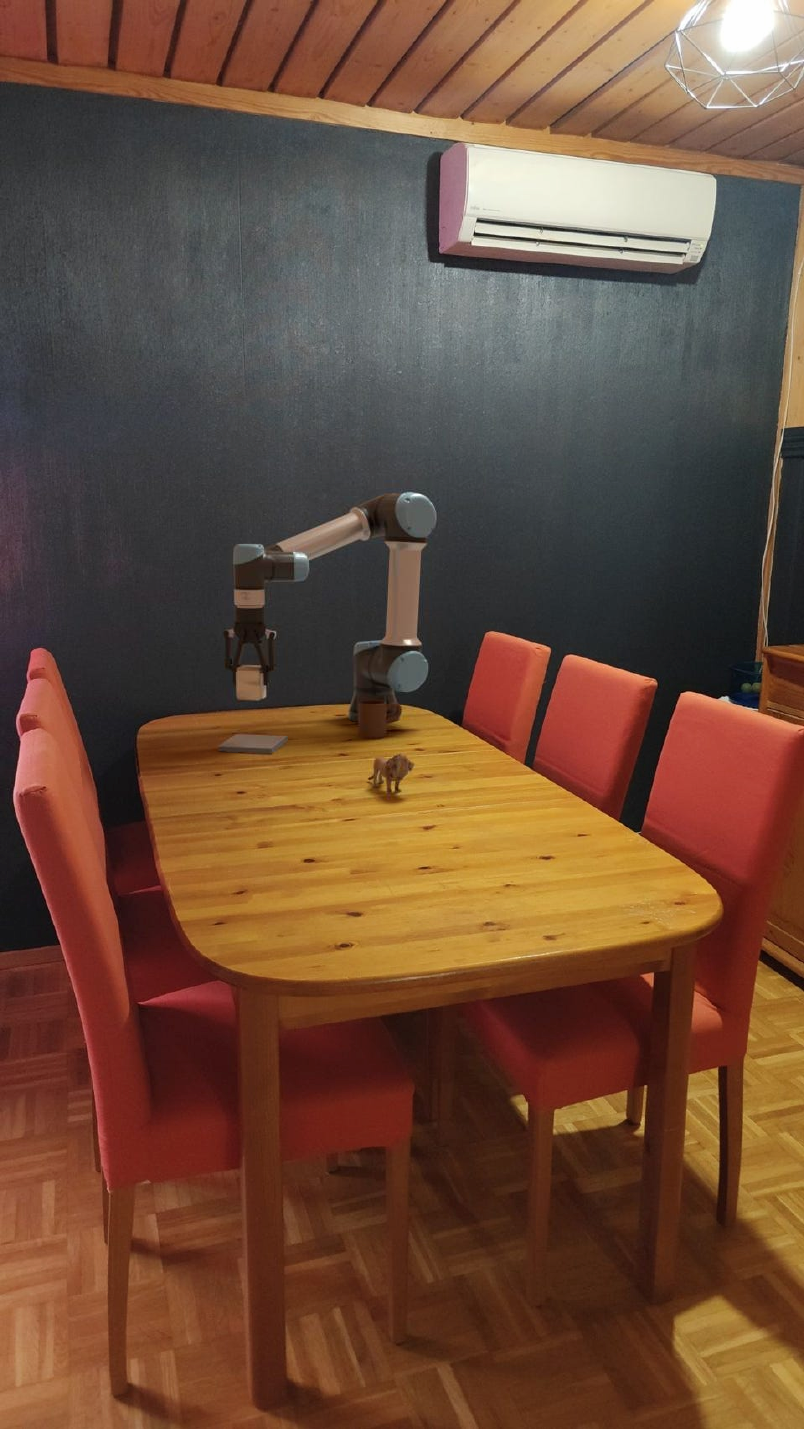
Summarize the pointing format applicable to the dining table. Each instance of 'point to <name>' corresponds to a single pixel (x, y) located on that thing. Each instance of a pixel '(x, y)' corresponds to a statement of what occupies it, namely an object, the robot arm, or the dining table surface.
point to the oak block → (248, 682)
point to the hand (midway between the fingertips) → (251, 697)
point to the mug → (375, 718)
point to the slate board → (253, 743)
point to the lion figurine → (391, 770)
